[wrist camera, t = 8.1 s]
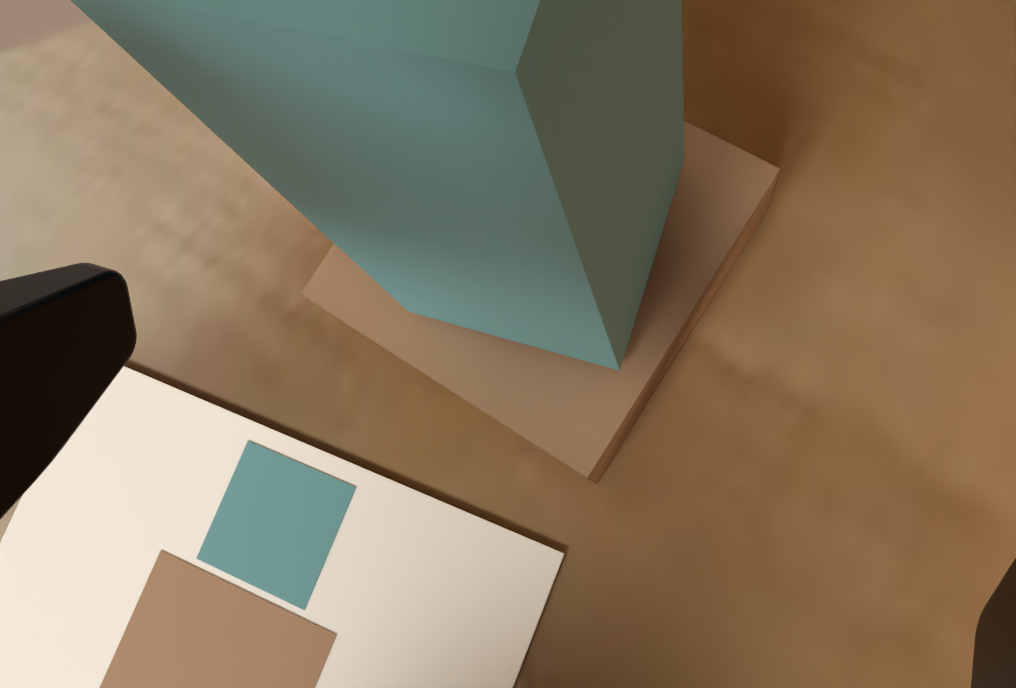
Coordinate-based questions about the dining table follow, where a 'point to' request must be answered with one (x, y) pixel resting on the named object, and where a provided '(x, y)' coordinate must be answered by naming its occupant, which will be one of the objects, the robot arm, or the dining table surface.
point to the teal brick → (450, 142)
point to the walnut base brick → (562, 379)
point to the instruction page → (250, 564)
